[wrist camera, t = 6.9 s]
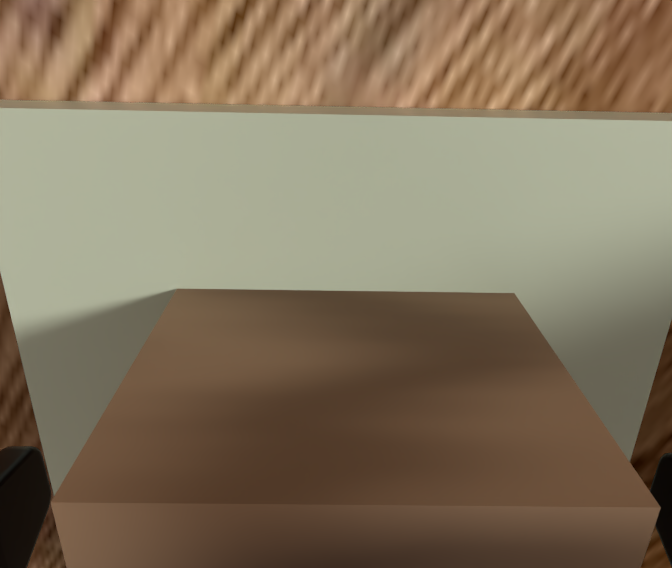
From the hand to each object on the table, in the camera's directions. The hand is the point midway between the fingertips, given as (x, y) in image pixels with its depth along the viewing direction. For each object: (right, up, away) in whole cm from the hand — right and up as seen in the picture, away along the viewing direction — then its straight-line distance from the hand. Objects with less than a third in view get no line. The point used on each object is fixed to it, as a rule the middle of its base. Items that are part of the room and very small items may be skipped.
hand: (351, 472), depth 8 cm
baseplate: (0, 0, +4) cm, 4 cm away
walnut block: (0, 0, +3) cm, 3 cm away
